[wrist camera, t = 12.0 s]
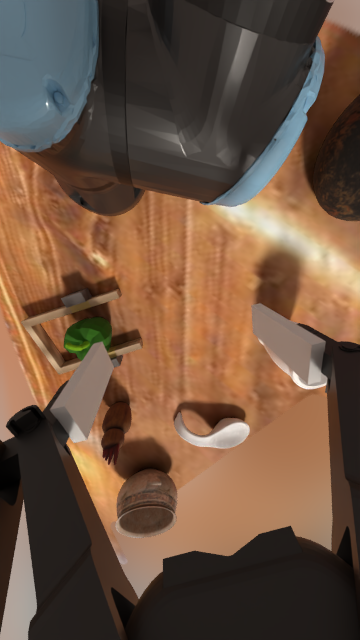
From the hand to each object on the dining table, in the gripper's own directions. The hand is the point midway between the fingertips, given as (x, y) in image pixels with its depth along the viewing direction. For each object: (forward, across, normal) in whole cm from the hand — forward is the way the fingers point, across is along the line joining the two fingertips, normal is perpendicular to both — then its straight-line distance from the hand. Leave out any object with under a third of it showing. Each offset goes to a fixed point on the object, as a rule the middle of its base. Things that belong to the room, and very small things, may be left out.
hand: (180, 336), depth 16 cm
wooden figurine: (+25, -21, -31) cm, 45 cm away
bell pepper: (+25, -18, -6) cm, 31 cm away
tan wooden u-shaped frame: (+25, -20, -7) cm, 33 cm away
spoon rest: (+25, +3, -46) cm, 53 cm away
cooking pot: (+25, -23, -64) cm, 72 cm away
